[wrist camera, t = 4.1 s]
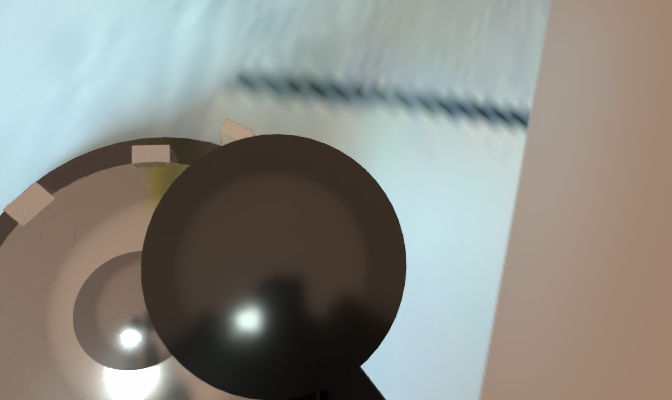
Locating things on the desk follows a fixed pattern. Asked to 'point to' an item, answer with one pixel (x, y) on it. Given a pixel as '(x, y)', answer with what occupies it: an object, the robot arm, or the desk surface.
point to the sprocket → (200, 276)
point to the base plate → (125, 161)
